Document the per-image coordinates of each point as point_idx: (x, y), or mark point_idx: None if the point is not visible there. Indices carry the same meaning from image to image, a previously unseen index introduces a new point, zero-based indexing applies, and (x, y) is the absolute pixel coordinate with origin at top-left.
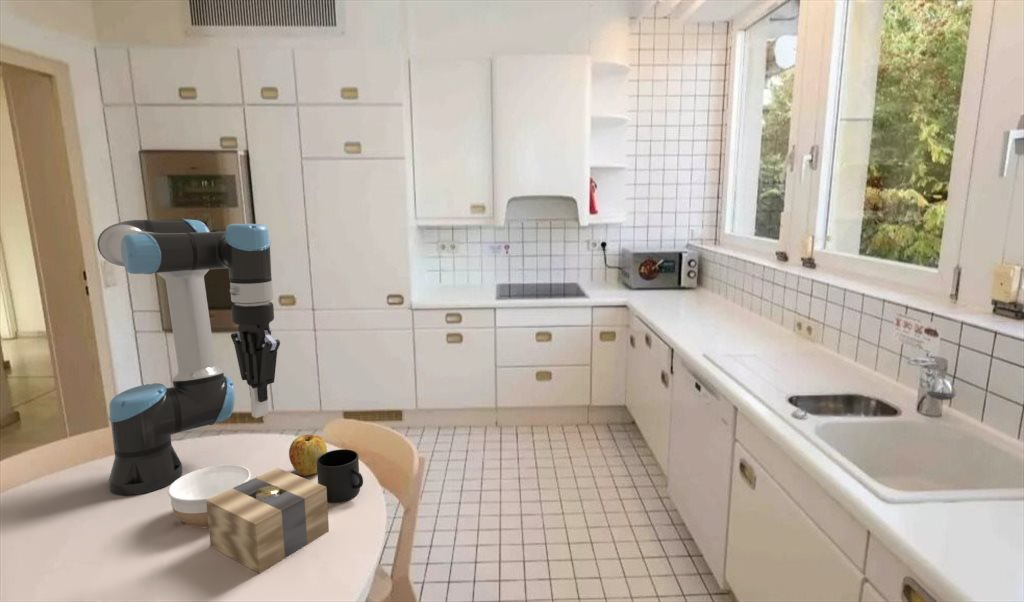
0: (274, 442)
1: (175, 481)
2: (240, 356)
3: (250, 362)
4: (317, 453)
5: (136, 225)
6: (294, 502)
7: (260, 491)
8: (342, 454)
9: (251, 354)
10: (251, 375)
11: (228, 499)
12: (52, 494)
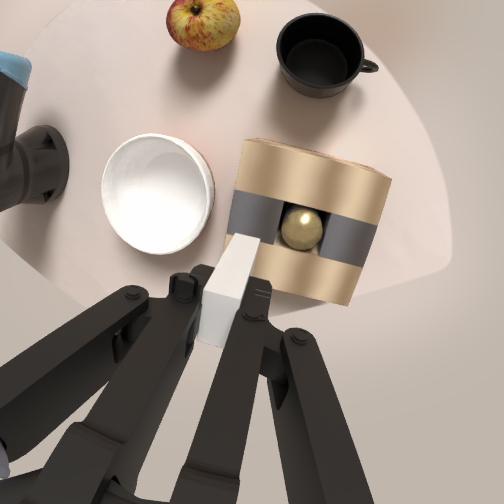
0: (96, 5)
1: (108, 217)
2: (71, 411)
3: (158, 423)
4: (234, 22)
5: None
6: (368, 241)
7: (290, 235)
8: (303, 20)
9: (139, 458)
10: (183, 366)
11: None
12: (15, 225)
